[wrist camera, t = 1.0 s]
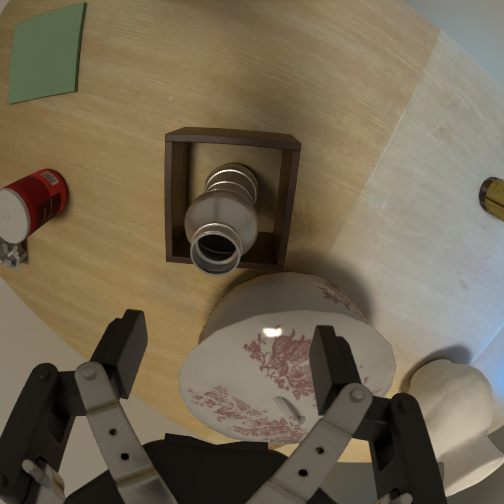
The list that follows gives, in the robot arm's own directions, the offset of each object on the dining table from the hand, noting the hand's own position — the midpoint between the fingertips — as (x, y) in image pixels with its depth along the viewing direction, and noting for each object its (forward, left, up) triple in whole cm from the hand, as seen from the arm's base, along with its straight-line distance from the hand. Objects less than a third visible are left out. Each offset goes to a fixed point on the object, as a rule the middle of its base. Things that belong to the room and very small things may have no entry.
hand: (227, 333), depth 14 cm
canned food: (+3, -31, -29) cm, 42 cm away
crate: (+1, -2, -29) cm, 29 cm away
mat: (-19, -32, -29) cm, 47 cm away
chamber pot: (+22, +7, -29) cm, 37 cm away
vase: (+38, +45, -29) cm, 66 cm away
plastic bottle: (+1, -2, -29) cm, 29 cm away
